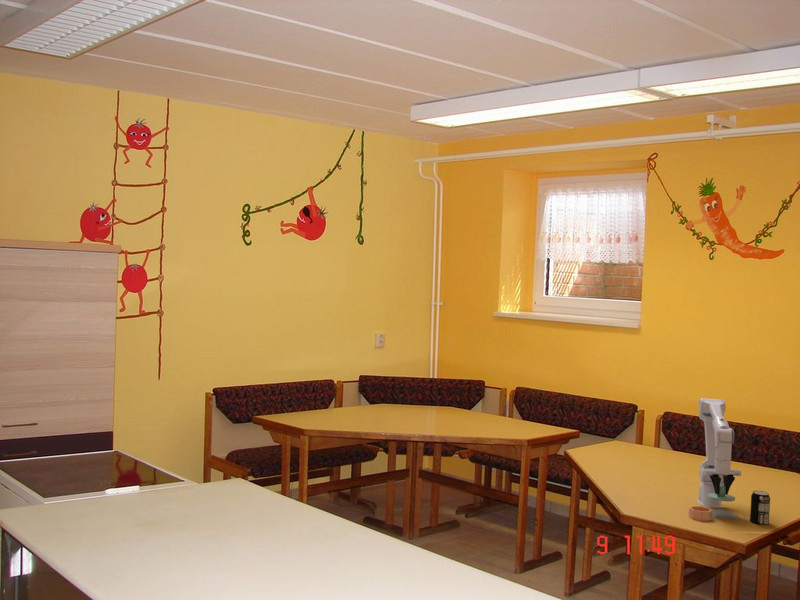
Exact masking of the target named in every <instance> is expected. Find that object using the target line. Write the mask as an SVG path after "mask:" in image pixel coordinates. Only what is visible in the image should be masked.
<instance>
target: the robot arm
mask: <svg viewBox="0 0 800 600" xmlns="http://www.w3.org/2000/svg"><path fill="white" fill-rule="evenodd" d="M726 407H727V406H726V401H725V399H723V398H721V399H720V398H719V399H718V398H705V397H701V398H700V399H699V401H698V416H699V420H701V421H703V426H704V437H705V439H704V440H705V460H704V461H703V462H701V463H700V465H699V472H698V473H699V474H698V475H699V477H698V478H699V482H701V483H700V484H699V487H698V499H697V500H696V502H697V503H699V504H700V505H701V506H703V507H707V508H725V505H723V504H722V501H717V500H713V499H710V498H708V497H707V496H708V494H709V493H715V494H718V495H719V489H720V485H724V486H726V495H729V491H730V488H731V487H732V485H733V483H734V481H735V480H736V476H738V477H742V471H741V470H739V469H738V470H737V469H732V468H731V467H732V466H731V465H732V464H731V463H732V448H733V447H732V445H733V444H734V443H735V431H734V429H733V428H732V427H730V425H729V423H728V420H727V418H725V417H724V416H725V412H726Z"/></svg>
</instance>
